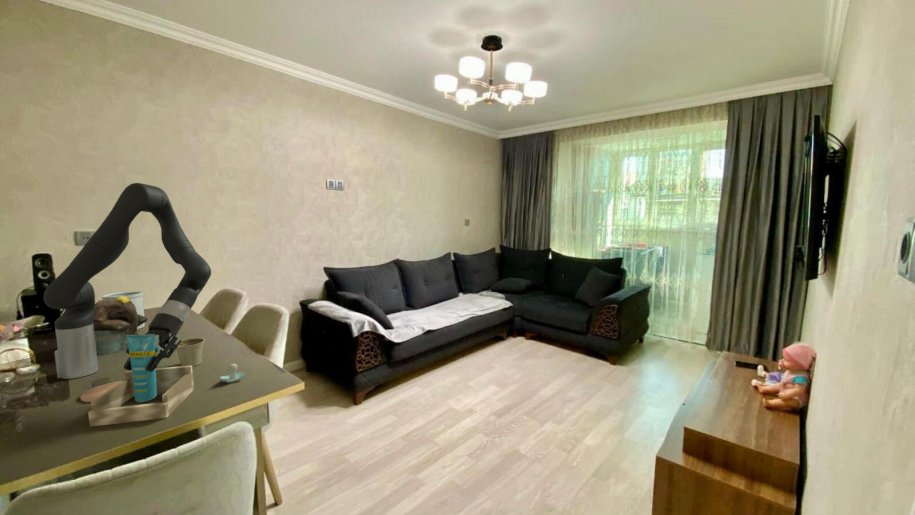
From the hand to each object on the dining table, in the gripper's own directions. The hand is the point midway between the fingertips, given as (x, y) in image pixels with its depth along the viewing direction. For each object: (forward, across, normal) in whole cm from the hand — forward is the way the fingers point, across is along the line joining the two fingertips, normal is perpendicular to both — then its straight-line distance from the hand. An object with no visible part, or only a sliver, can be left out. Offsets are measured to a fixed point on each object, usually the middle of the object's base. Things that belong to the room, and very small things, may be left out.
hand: (137, 370), depth 105 cm
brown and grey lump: (-22, -59, +40) cm, 74 cm away
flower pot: (-14, -12, +31) cm, 35 cm away
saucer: (+2, -19, +14) cm, 24 cm away
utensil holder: (-40, -78, +58) cm, 105 cm away
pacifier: (-6, +13, +23) cm, 27 cm away
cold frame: (+7, 0, +9) cm, 12 cm away
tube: (+6, 0, +8) cm, 10 cm away
